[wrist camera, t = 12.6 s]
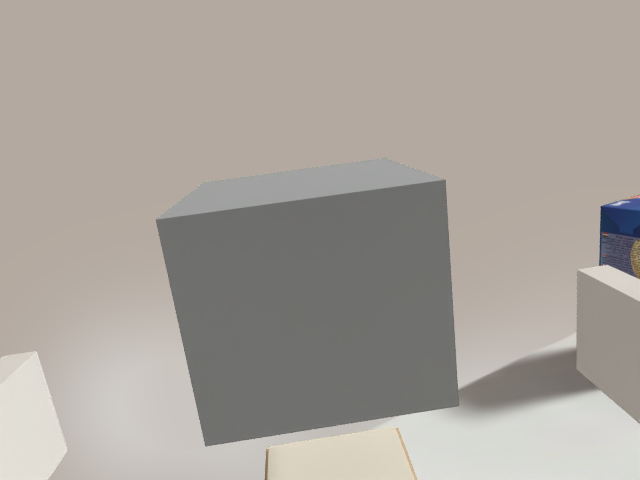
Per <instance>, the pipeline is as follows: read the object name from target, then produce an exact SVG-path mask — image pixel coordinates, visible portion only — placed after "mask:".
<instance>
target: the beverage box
mask: <svg viewBox="0 0 640 480" xmlns="http://www.w3.org/2000/svg"><path fill="white" fill-rule="evenodd" d="M603 265H609V266H611V267H613V268H616V269H618V270H620V271H622V272H624V273H627V274H629V275H631V276H633V277H636V278H638V279H640V195H637V196H634V197H630V198H627V199H624V200H620V201H617V202H614V203H610V204H606V205H603V206H601V221H600V261H599V266H603Z"/></svg>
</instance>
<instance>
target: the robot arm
mask: <svg viewBox="0 0 640 480" xmlns="http://www.w3.org/2000/svg"><path fill="white" fill-rule="evenodd" d="M576 369H577V370H578V371H579V372H580V373H581V374H582V375H584V376H585V377H586V378H587V379H588V380H589V381H591V382H592V383H593V384H594V385H595V386H596V387H598V388H599V389H600V390H601V391H602V392H603V393H605V394H606V395H607V396H608V397H609V398H610V399H612V400H613V401H614V402H615V403H616V404H617V405H619V406H620V407H621V408H622V409H623V410H624V411H626V412H627V413H628V414H629V415H630V416H631V417H633V418H634V419H635V420H636V421H637V422H638V423H640V279H638V278H636V277H633V276H631V275H629V274H627V273H624V272H622V271H620V270H618V269H616V268H613V267H611V266H609V265H603V266H597V267H590V268H583V269H578V270H577V359H576ZM66 452H67V447H66V443H65V440H64V437H63V434H62V431H61V427H60V424H59V421H58V418H57V415H56V412H55V408H54V405H53V402H52V399H51V396H50V392H49V389H48V386H47V383H46V380H45V377H44V373H43V370H42V367H41V364H40V361H39V358H38V354H37V351H34V352H28V353H20V354H14V355H7V356H3V357H2V358H1V359H0V480H48V479H49V478H50V476H51V475H52V473H53V472H54V470H55V468H56V467H57V466H58V464H59V463H60V461H61V459H62V458H63V456H64V455H65V453H66Z"/></svg>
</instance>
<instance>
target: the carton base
mask: <svg viewBox="0 0 640 480" xmlns="http://www.w3.org/2000/svg"><path fill="white" fill-rule="evenodd" d="M265 480H417V477H416V475H415V472H414V469H413V467H412V464H411V461H410V459H409V456H408V453H407V451H406V448H405V446H404V443H403V440H402V438H401V435H400V432H399V430H398V428H395V426H394V427H387V428H381V429H375V430H369V431H362V432H356V433H350V434H344V435H337V436H331V437H325V438H319V439H313V440H307V441H300V442H295V443H288V444H282V445H275V446H269V449H266V467H265Z"/></svg>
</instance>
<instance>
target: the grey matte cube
mask: <svg viewBox="0 0 640 480" xmlns="http://www.w3.org/2000/svg"><path fill="white" fill-rule="evenodd" d="M156 223H157V228H158V232H159V236H160V241H161V246H162V250H163V254H164V259H165V264H166V268H167V273H168V278H169V282H170V287H171V291H172V296H173V300H174V305H175V310H176V314H177V319H178V323H179V328H180V333H181V337H182V342H183V346H184V351H185V355H186V360H187V365H188V369H189V374H190V378H191V383H192V387H193V392H194V396H195V401H196V405H197V410H198V415H199V419H200V424H201V428H202V433H203V437H204V442H205V446H211V445H217V444H224V443H230V442H236V441H242V440H249V439H255V438H261V437H267V436H274V435H280V434H286V433H293V432H298V431H304V430H311V429H318V428H323V427H330V426H336V425H342V424H349V423H355V422H361V421H368V420H374V419H380V418H386V417H393V416H399V415H405V414H412V413H418V412H424V411H431V410H437V409H443V408H449V407H456V406H459V400H458V384H457V366H456V349H455V333H454V316H453V299H452V282H451V266H450V248H449V231H448V214H447V198H446V181H445V179H442V178H439V177H436V176H434V175H431V174H428V173H425V172H423V171H420V170H417V169H414V168H411V167H408V166H406V165H403V164H400V163H397V162H395V161H392V160H389V159H386V158H382V159H374V160H367V161H361V162H352V163H345V164H338V165H330V166H323V167H316V168H308V169H300V170H293V171H286V172H278V173H271V174H264V175H256V176H250V177H241V178H234V179H227V180H219V181H212V182H205V183H203V184H201V185H200V186H199V187H197V188H196V189H195V190H194V191H192V192H191V193H190V194H188V195H187V196H186V197H184V198H183V199H182V200H181V201H179V202H178V203H177V204H175V205H174V206H173V207H172V208H170V209H169V210H168V211H167V212H165V213H164V214H163V215H161V216H160V217H159V218H158V219H156Z"/></svg>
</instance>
